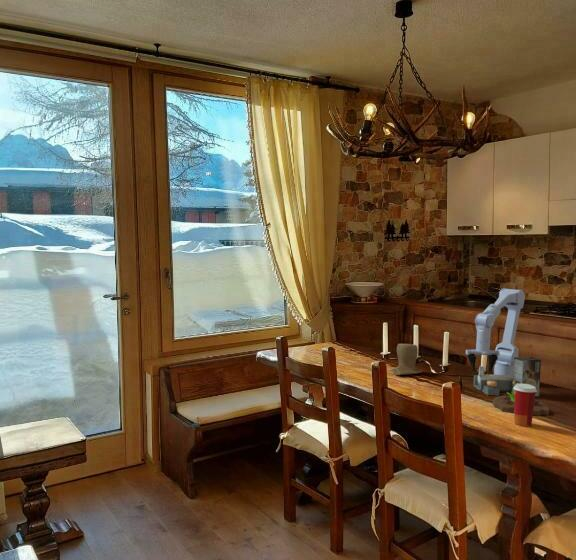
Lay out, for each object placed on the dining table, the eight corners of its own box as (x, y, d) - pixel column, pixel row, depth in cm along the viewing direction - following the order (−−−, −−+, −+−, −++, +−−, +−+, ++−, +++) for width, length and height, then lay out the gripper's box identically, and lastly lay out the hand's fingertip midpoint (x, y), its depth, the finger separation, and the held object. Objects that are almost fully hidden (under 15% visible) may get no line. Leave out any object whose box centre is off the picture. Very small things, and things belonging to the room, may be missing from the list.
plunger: (484, 390, 244) (485, 380, 244) (494, 391, 244) (494, 380, 244) (488, 393, 240) (489, 382, 240) (497, 393, 240) (498, 383, 240)
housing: (473, 386, 255) (473, 375, 255) (507, 387, 256) (508, 376, 256) (486, 395, 240) (487, 383, 240) (523, 396, 241) (524, 384, 240)
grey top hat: (409, 370, 284) (411, 340, 283) (425, 375, 274) (426, 344, 273) (384, 372, 278) (386, 342, 277) (399, 377, 267) (401, 346, 266)
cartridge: (477, 384, 253) (478, 365, 253) (505, 385, 254) (506, 366, 253) (481, 387, 248) (482, 368, 248) (510, 388, 249) (511, 368, 248)
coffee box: (529, 392, 247) (531, 356, 246) (539, 396, 241) (541, 359, 240) (511, 393, 245) (513, 357, 244) (521, 397, 239) (523, 360, 238)
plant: (487, 400, 234) (489, 373, 233) (536, 403, 232) (538, 376, 231) (499, 414, 214) (501, 385, 214) (553, 418, 212) (555, 388, 211)
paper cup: (528, 421, 206) (530, 383, 205) (538, 428, 198) (541, 388, 197) (507, 420, 206) (509, 382, 205) (516, 427, 198) (519, 388, 197)
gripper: (470, 341, 245) (468, 372, 246) (503, 342, 246) (501, 373, 247) (464, 339, 252) (463, 369, 253) (496, 340, 253) (494, 369, 254)
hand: (481, 371), depth 250 cm, fingers open, 7 cm apart
